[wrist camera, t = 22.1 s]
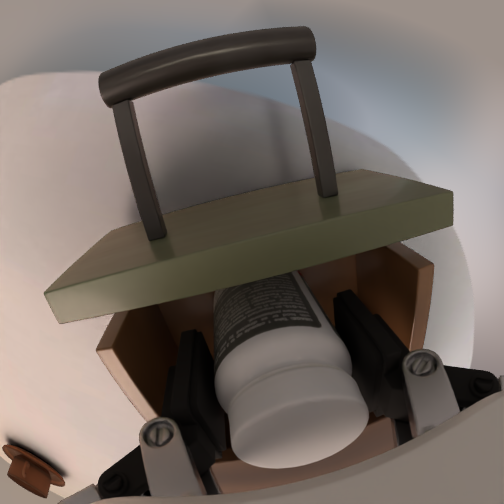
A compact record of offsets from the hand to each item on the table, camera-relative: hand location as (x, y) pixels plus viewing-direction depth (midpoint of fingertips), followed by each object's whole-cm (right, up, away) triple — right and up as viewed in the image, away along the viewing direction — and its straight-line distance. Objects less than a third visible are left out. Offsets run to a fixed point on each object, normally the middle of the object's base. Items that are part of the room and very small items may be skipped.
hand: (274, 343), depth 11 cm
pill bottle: (0, +1, +4) cm, 4 cm away
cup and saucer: (-36, -30, +14) cm, 49 cm away
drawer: (-1, +3, +4) cm, 5 cm away
